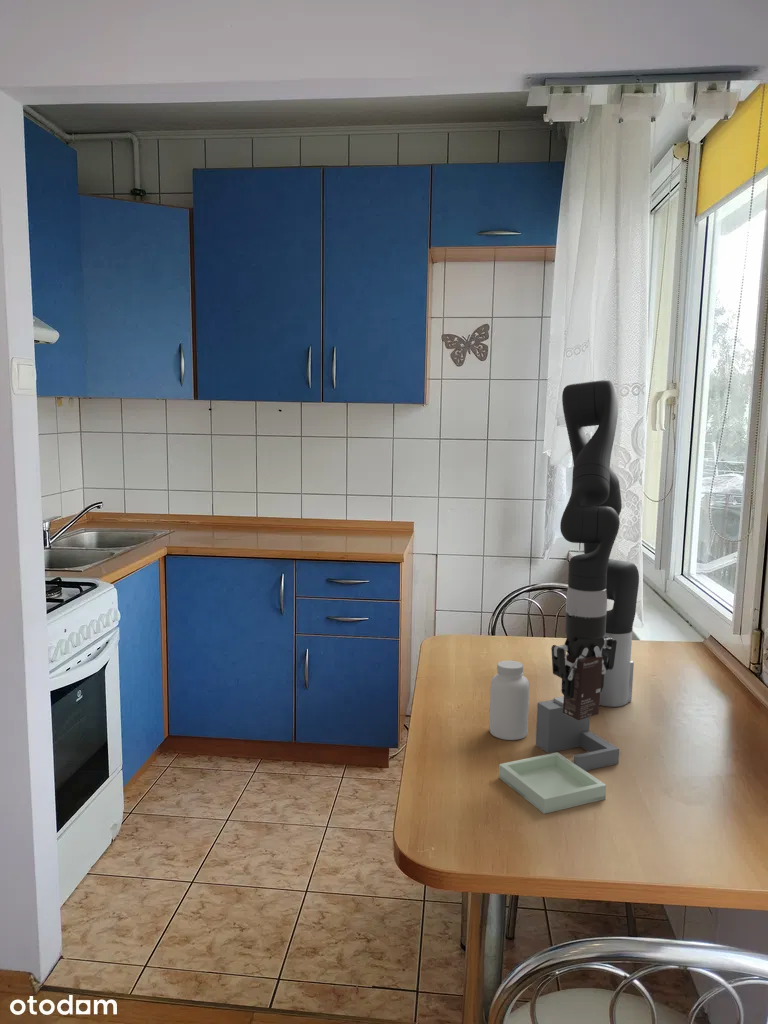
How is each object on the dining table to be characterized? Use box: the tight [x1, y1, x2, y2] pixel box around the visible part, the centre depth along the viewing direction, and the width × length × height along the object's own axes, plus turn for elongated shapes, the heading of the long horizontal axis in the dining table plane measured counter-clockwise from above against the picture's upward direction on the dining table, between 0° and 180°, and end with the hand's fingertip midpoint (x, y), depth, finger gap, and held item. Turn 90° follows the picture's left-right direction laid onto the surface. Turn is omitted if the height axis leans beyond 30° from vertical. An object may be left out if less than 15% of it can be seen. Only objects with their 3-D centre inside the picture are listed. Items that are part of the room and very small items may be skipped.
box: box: [563, 654, 603, 720], centre depth 152 cm, size 6×4×12 cm
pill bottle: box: [489, 660, 530, 741], centre depth 164 cm, size 8×8×15 cm
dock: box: [535, 695, 620, 772], centre depth 155 cm, size 10×13×10 cm
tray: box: [498, 751, 607, 815], centre depth 141 cm, size 13×14×3 cm
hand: (582, 693), depth 152 cm, fingers closed on box, 6 cm apart
